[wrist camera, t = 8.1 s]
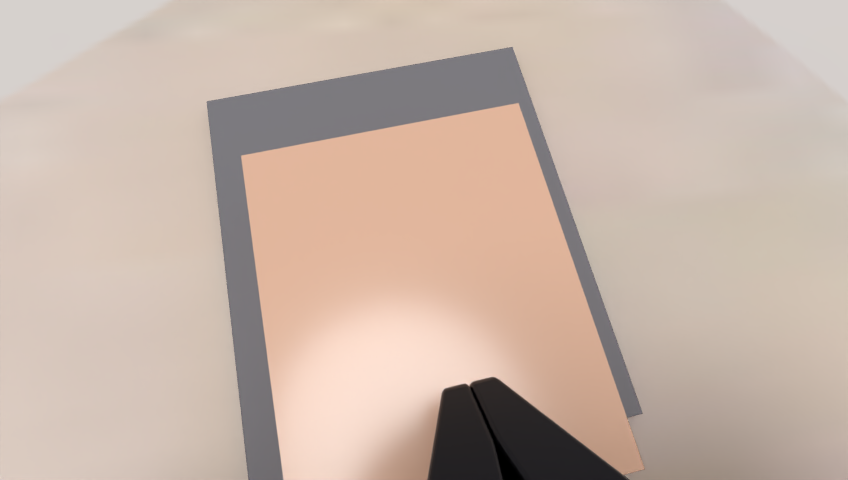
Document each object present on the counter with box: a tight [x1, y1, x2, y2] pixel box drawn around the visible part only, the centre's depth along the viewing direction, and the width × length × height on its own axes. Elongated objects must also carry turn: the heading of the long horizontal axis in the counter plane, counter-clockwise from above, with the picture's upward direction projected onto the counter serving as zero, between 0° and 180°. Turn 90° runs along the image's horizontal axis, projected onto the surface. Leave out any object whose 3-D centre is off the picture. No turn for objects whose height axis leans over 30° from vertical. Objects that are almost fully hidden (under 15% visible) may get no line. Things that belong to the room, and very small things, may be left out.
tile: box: [241, 103, 645, 480], centre depth 14 cm, size 2×8×10 cm
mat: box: [207, 47, 643, 480], centre depth 16 cm, size 13×11×1 cm
